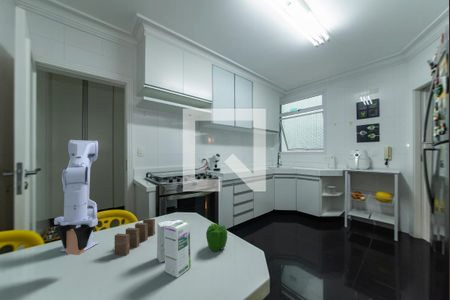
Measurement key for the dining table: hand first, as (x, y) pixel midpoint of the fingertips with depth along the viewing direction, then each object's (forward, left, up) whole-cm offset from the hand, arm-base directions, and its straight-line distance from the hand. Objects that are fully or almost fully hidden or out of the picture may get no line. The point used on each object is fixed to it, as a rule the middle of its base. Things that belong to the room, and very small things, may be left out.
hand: (75, 247), depth 56 cm
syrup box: (+32, +6, -8) cm, 34 cm away
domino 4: (+7, +22, -7) cm, 25 cm away
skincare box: (+25, +12, -8) cm, 29 cm away
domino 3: (+7, +17, -7) cm, 20 cm away
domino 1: (0, 0, -2) cm, 2 cm away
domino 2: (+7, +11, -7) cm, 15 cm away
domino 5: (+7, +28, -7) cm, 30 cm away
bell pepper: (+41, +21, -8) cm, 47 cm away
